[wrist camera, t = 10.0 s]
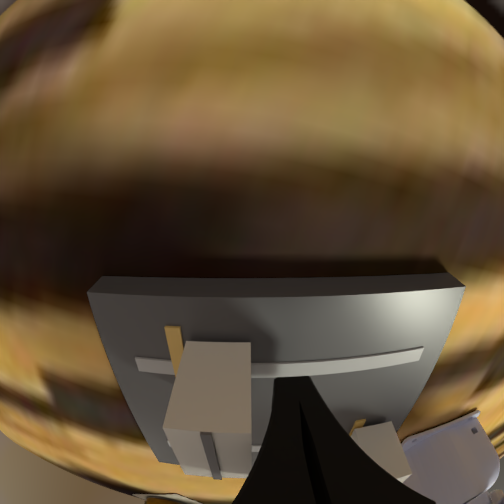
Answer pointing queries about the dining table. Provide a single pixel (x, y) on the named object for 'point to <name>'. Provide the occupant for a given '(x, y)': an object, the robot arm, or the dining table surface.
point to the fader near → (212, 410)
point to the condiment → (165, 499)
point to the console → (280, 340)
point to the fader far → (383, 448)
